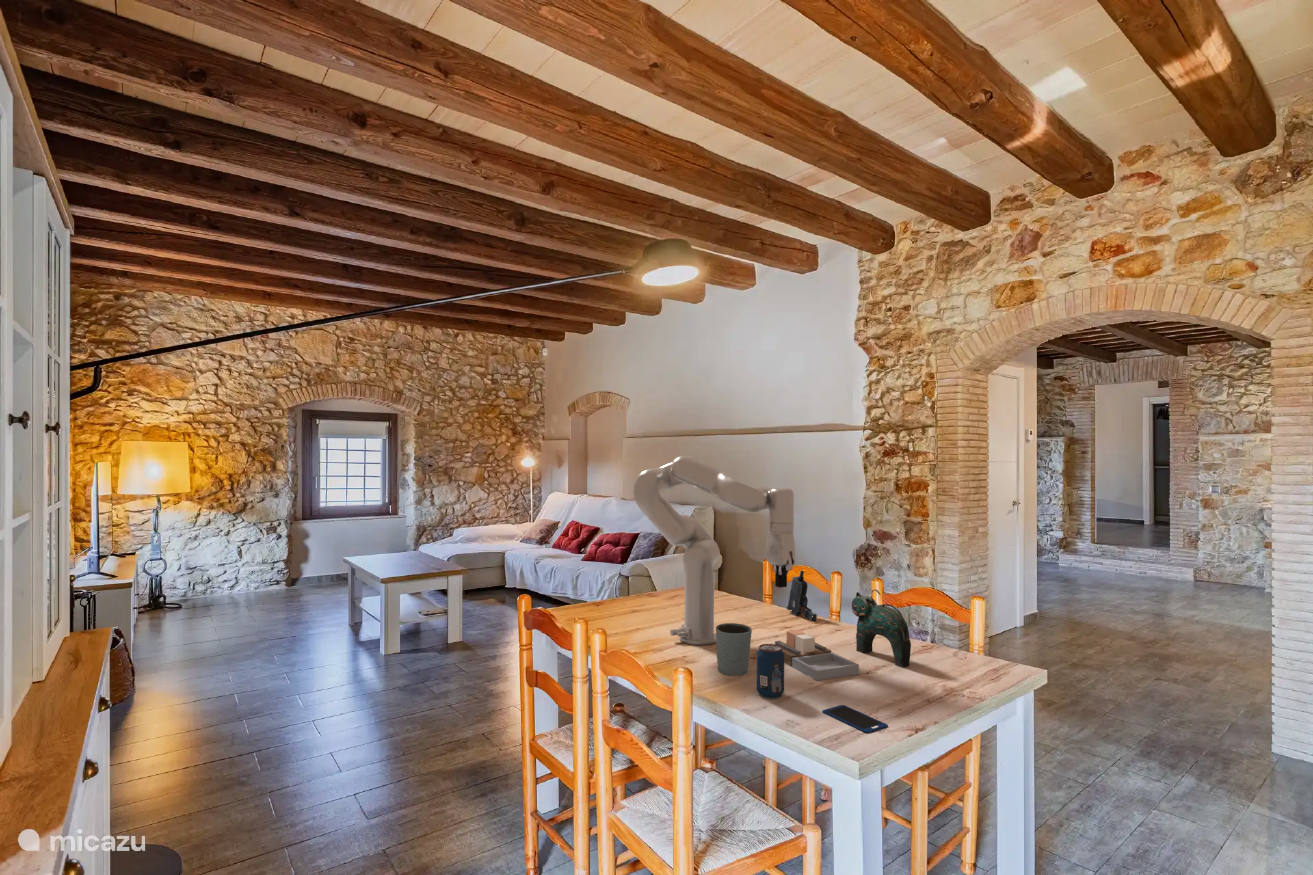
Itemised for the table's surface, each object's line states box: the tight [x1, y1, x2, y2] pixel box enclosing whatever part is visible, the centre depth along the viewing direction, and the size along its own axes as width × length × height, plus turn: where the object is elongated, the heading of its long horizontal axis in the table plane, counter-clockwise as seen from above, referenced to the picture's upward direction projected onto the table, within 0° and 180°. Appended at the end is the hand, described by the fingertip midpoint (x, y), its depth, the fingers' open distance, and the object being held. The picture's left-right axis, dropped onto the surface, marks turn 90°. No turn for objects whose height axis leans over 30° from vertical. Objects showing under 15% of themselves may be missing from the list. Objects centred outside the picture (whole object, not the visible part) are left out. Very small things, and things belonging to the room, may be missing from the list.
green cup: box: [715, 622, 753, 677], centre depth 185 cm, size 10×10×12 cm
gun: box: [785, 570, 818, 623], centre depth 243 cm, size 3×17×15 cm
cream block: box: [795, 633, 816, 653], centre depth 194 cm, size 4×4×4 cm
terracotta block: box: [786, 629, 807, 648], centre depth 199 cm, size 4×4×4 cm
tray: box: [791, 651, 860, 681], centre depth 186 cm, size 14×12×3 cm
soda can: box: [755, 643, 785, 700], centre depth 168 cm, size 7×7×12 cm
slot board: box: [774, 640, 832, 668], centre depth 197 cm, size 14×11×4 cm
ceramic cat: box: [851, 589, 912, 668], centre depth 198 cm, size 20×6×20 cm, turn 27°
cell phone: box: [821, 704, 889, 734], centre depth 153 cm, size 7×14×1 cm, turn 31°
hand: (781, 586), depth 206 cm, fingers closed
